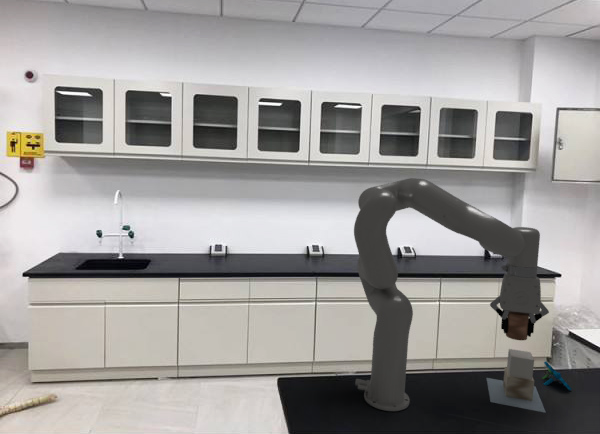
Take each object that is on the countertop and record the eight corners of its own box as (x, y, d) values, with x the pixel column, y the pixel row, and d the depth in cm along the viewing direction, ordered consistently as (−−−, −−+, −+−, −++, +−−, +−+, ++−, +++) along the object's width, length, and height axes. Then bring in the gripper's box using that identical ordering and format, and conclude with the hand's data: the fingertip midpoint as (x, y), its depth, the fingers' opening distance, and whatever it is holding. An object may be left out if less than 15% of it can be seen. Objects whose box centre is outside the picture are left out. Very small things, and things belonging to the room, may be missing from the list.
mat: (490, 403, 126) (490, 401, 126) (486, 379, 141) (486, 377, 141) (545, 414, 122) (545, 412, 122) (535, 387, 137) (535, 386, 137)
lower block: (505, 396, 130) (507, 376, 129) (503, 385, 137) (504, 366, 136) (532, 401, 128) (534, 381, 127) (528, 389, 134) (530, 371, 134)
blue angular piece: (578, 392, 132) (553, 364, 134) (561, 404, 133) (537, 376, 135) (565, 380, 143) (542, 355, 144) (550, 391, 143) (527, 366, 145)
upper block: (509, 376, 130) (511, 356, 129) (506, 367, 135) (508, 348, 135) (532, 380, 128) (534, 360, 127) (528, 371, 133) (530, 352, 133)
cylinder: (506, 338, 125) (508, 314, 124) (504, 332, 130) (506, 308, 130) (528, 341, 123) (530, 317, 123) (525, 334, 129) (527, 311, 128)
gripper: (489, 271, 124) (484, 333, 126) (559, 277, 118) (553, 342, 120) (488, 265, 131) (483, 325, 133) (553, 271, 125) (548, 333, 127)
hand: (516, 332), depth 127 cm, fingers closed on cylinder, 5 cm apart
